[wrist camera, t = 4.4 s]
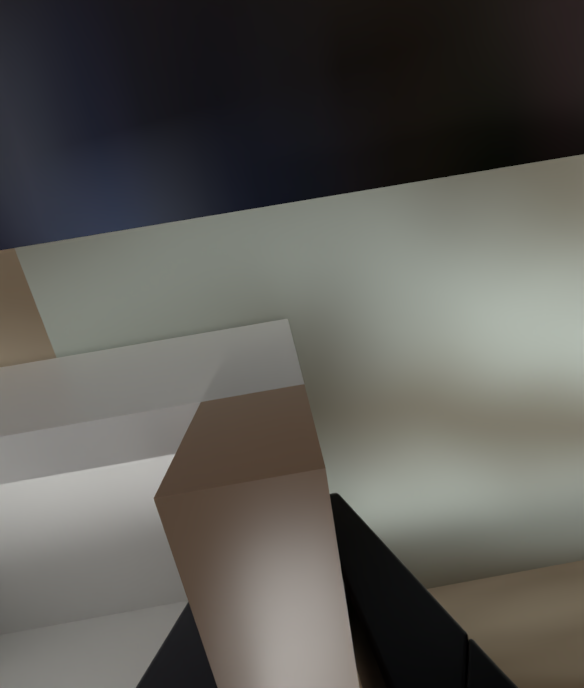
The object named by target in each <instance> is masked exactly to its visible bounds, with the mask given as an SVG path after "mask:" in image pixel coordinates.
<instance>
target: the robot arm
mask: <svg viewBox="0 0 584 688" xmlns="http://www.w3.org/2000/svg"><path fill="white" fill-rule="evenodd" d="M330 500H331V506H332V513H333V519H334V526H335V532H336V539H337V545H338V552H339V558H340V565H341V571H342V578H343V584H344V591H345V597H346V604H347V610H348V617H349V623H350V630H351V636H352V643H353V649H354V656H355V662H356V668H357V672H358V675H359V679H360V682H361V685H362V688H518V687H517V686H516V685H515V684H514V683H513V682H512V680H511V679H510V678H509V677H508V676H507V675H506V674H505V673H504V672H503V671H502V670H501V669H500V668H499V667H498V666H497V665H496V664H495V663H494V662H493V660H492V659H491V658H490V657H489V656H488V655H487V654H486V653H485V652H484V651H483V650H482V648H481V647H480V646H479V645H478V644H477V643H476V642H475V641H474V640H473V639H469V640H468V634H467V633H466V631H465V630H464V629H463V628H462V627H461V626H460V625H459V624H458V623H457V622H456V621H455V619H454V618H453V617H452V616H451V615H450V614H449V613H448V612H447V611H446V610H445V609H444V608H443V606H442V605H441V604H440V603H439V602H438V601H437V600H436V599H435V598H434V597H433V596H432V594H431V593H430V592H429V591H428V590H427V589H426V588H425V587H424V586H423V585H422V584H421V583H420V581H419V580H418V579H417V578H416V577H415V576H414V575H413V574H412V573H411V572H410V571H409V569H408V568H407V567H406V566H405V565H404V564H403V563H402V562H401V561H400V560H399V559H398V558H397V556H396V555H395V554H394V553H393V552H392V551H391V550H390V549H389V548H388V547H387V546H386V545H385V543H384V542H383V541H382V540H381V539H380V538H379V537H378V536H377V535H376V534H375V533H374V531H373V530H372V529H371V528H370V527H369V526H368V525H367V524H366V523H365V522H364V521H363V520H362V518H361V517H360V516H359V515H358V514H357V513H356V512H355V511H354V510H353V509H352V508H351V506H350V505H349V504H348V503H347V502H346V501H345V500H344V499H343V498H342V497H341V496H340V495H339V494H338V493H331V494H330ZM136 688H218V687H217V684H216V681H215V678H214V675H213V672H212V670H211V667H210V664H209V661H208V658H207V655H206V652H205V649H204V646H203V643H202V640H201V637H200V634H199V631H198V628H197V625H196V622H195V619H194V617H193V614H192V611H191V608H190V605H189V602H188V603H187V605H186V606H185V608H184V609H183V611H182V613H181V614H180V616H179V618H178V619H177V621H176V622H175V624H174V626H173V627H172V629H171V631H170V632H169V634H168V636H167V637H166V639H165V640H164V642H163V644H162V645H161V647H160V649H159V650H158V652H157V654H156V655H155V657H154V658H153V660H152V662H151V663H150V665H149V667H148V668H147V670H146V671H145V673H144V675H143V676H142V678H141V680H140V681H139V683H138V685H137V686H136Z"/></svg>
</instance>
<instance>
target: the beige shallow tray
mask: <svg viewBox="0 0 584 688" xmlns="http://www.w3.org/2000/svg"><path fill="white" fill-rule="evenodd" d="M282 319H288V321H289V325H290V329H291V333H292V337H293V341H294V345H295V349H296V353H297V357H298V361H299V365H300V369H301V373H302V377H303V381H304V385H305V389H306V392H307V396H308V400H309V404H310V408H311V412H312V416H313V420H314V424H315V428H316V432H317V436H318V440H319V444H320V448H321V452H322V456H323V460H324V464H325V468H326V474H327V480H328V487H329V493H330V494H331V493H338V494H339V495H340V496H341V497H342V498H343V499H344V500H345V501H346V502H347V503H348V504H349V505H350V506H351V508H352V509H353V510H354V511H355V512H356V513H357V514H358V515H359V516H360V517H361V518H362V520H363V521H364V522H365V523H366V524H367V525H368V526H369V527H370V528H371V529H372V530H373V531H374V533H375V534H376V535H377V536H378V537H379V538H380V539H381V540H382V541H383V542H384V543H385V545H386V546H387V547H388V548H389V549H390V550H391V551H392V552H393V553H394V554H395V555H396V556H397V558H398V559H399V560H400V561H401V562H402V563H403V564H404V565H405V566H406V567H407V568H408V569H409V571H410V572H411V573H412V574H413V575H414V576H415V577H416V578H417V579H418V580H419V581H420V583H421V584H422V585H423V586H424V587H425V588H426V589H427V590H428V591H429V592H430V593H431V594H432V596H433V597H434V598H435V599H436V600H437V601H438V602H439V603H440V604H441V605H442V606H443V608H444V609H445V610H446V611H447V612H448V613H449V614H450V615H451V616H452V617H453V618H454V619H455V621H456V622H457V623H458V624H459V625H460V626H461V627H462V628H463V629H464V630H465V631H466V633H467V634H468V640H469V639H473V640H474V641H475V642H476V643H477V644H478V645H479V646H480V647H481V648H482V650H483V651H484V652H485V653H486V654H487V655H488V656H489V657H490V658H491V659H492V660H493V662H494V663H495V664H496V665H497V666H498V667H499V668H500V669H501V670H502V671H503V672H504V673H505V674H506V675H507V676H508V677H509V678H510V679H511V680H512V682H513V683H514V684H515V685H516V686H517V687H518V688H584V154H583V155H576V156H570V157H564V158H558V159H552V160H546V161H540V162H534V163H528V164H522V165H516V166H510V167H504V168H498V169H491V170H485V171H479V172H473V173H467V174H461V175H455V176H449V177H443V178H437V179H431V180H425V181H419V182H412V183H406V184H400V185H394V186H388V187H382V188H376V189H370V190H364V191H358V192H352V193H346V194H340V195H333V196H327V197H321V198H315V199H309V200H303V201H297V202H291V203H285V204H279V205H273V206H267V207H261V208H255V209H248V210H242V211H236V212H230V213H224V214H218V215H212V216H206V217H200V218H194V219H188V220H182V221H176V222H169V223H163V224H157V225H151V226H145V227H139V228H133V229H127V230H121V231H115V232H109V233H103V234H97V235H90V236H84V237H78V238H72V239H66V240H60V241H54V242H48V243H42V244H36V245H30V246H24V247H18V248H12V249H5V250H0V367H6V366H12V365H18V364H23V363H29V362H35V361H41V360H47V359H53V358H59V357H65V356H70V355H76V354H82V353H88V352H94V351H100V350H106V349H112V348H117V347H123V346H129V345H135V344H141V343H147V342H153V341H159V340H164V339H170V338H176V337H182V336H188V335H194V334H200V333H206V332H211V331H217V330H223V329H229V328H235V327H241V326H247V325H253V324H258V323H264V322H270V321H276V320H282ZM356 669H357V668H356ZM357 675H358V672H357ZM358 682H359V688H362V685H361V682H360V679H359V675H358Z"/></svg>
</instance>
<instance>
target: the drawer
mask: <svg viewBox="0 0 584 688" xmlns="http://www.w3.org/2000/svg"><path fill="white" fill-rule="evenodd" d="M188 602H189V605H190V608H191V611H192V614H193V617H194V619H195V622H196V625H197V628H198V631H199V634H200V637H201V640H202V643H203V646H204V649H205V652H206V655H207V658H208V661H209V664H210V667H211V670H212V672H213V675H214V678H215V681H216V684H217V687H218V688H359V682H358V675H357V669H356V662H355V656H354V649H353V643H352V636H351V630H350V623H349V617H348V610H347V604H346V597H345V591H344V584H343V578H342V571H341V565H340V558H339V552H338V545H337V539H336V532H335V526H334V519H333V513H332V506H331V500H330V493H329V487H328V480H327V474H326V468H325V464H324V460H323V456H322V452H321V448H320V444H319V440H318V436H317V432H316V428H315V424H314V420H313V416H312V412H311V408H310V404H309V400H308V396H307V392H306V389H305V385H304V381H303V377H302V373H301V369H300V365H299V361H298V357H297V353H296V349H295V345H294V341H293V337H292V333H291V329H290V325H289V321H288V319H282V320H276V321H270V322H264V323H258V324H253V325H247V326H241V327H235V328H229V329H223V330H217V331H211V332H206V333H200V334H194V335H188V336H182V337H176V338H170V339H164V340H159V341H153V342H147V343H141V344H135V345H129V346H123V347H117V348H112V349H106V350H100V351H94V352H88V353H82V354H76V355H70V356H65V357H59V358H53V359H47V360H41V361H35V362H29V363H23V364H18V365H12V366H6V367H0V688H136V686H137V685H138V683H139V681H140V680H141V678H142V676H143V675H144V673H145V671H146V670H147V668H148V667H149V665H150V663H151V662H152V660H153V658H154V657H155V655H156V654H157V652H158V650H159V649H160V647H161V645H162V644H163V642H164V640H165V639H166V637H167V636H168V634H169V632H170V631H171V629H172V627H173V626H174V624H175V622H176V621H177V619H178V618H179V616H180V614H181V613H182V611H183V609H184V608H185V606H186V605H187V603H188Z"/></svg>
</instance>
